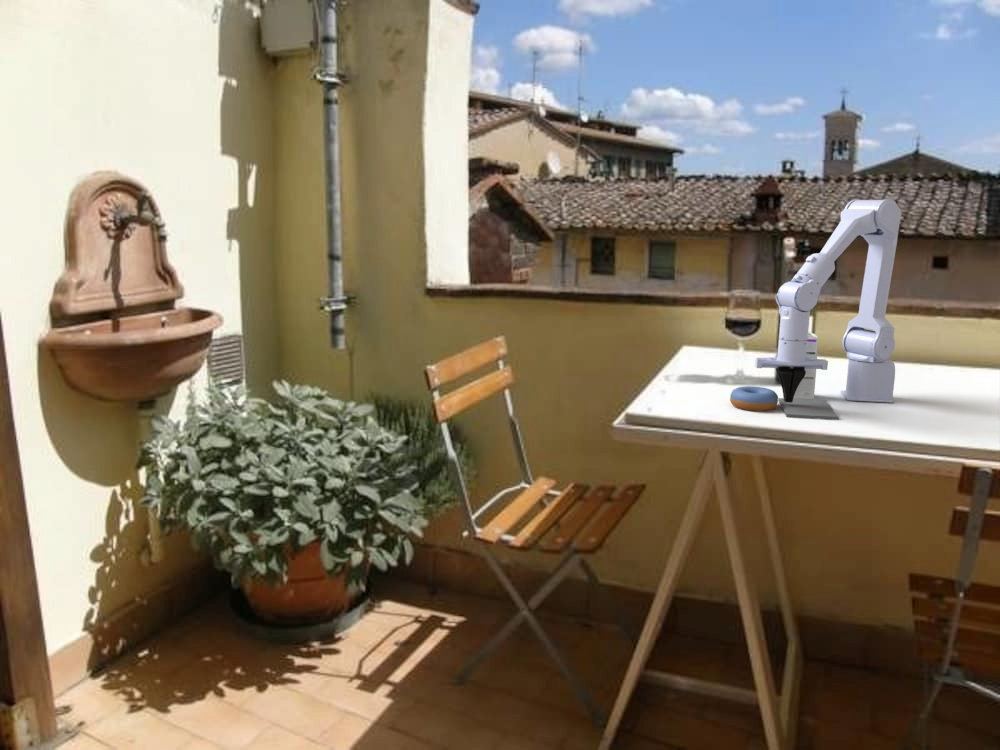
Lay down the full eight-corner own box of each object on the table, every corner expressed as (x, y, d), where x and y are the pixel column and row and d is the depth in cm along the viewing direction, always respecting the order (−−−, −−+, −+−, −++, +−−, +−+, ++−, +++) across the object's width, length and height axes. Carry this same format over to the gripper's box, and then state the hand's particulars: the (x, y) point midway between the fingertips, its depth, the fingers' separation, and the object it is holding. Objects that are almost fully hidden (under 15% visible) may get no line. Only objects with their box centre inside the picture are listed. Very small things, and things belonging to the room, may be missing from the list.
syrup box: (814, 400, 176) (820, 336, 173) (786, 399, 177) (792, 335, 174) (810, 394, 181) (815, 332, 178) (783, 393, 183) (788, 331, 179)
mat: (825, 403, 173) (826, 400, 173) (838, 419, 160) (838, 417, 160) (778, 400, 175) (778, 398, 175) (786, 416, 162) (786, 414, 162)
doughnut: (768, 399, 176) (768, 379, 175) (785, 413, 166) (785, 392, 165) (724, 404, 176) (723, 384, 175) (738, 418, 166) (738, 397, 165)
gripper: (823, 336, 169) (817, 397, 172) (754, 335, 171) (749, 395, 174) (833, 342, 163) (827, 405, 165) (760, 340, 164) (756, 403, 167)
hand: (787, 401), depth 169 cm, fingers closed
